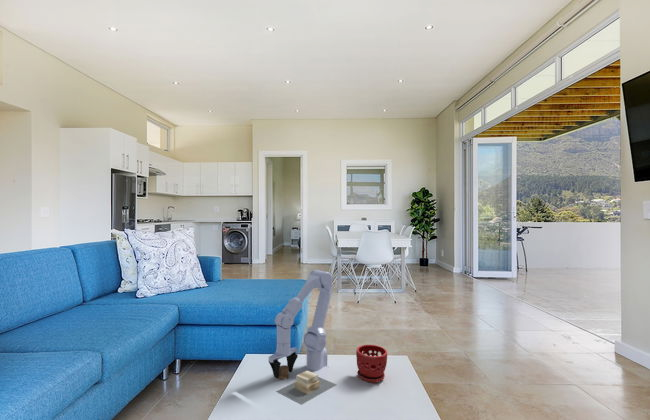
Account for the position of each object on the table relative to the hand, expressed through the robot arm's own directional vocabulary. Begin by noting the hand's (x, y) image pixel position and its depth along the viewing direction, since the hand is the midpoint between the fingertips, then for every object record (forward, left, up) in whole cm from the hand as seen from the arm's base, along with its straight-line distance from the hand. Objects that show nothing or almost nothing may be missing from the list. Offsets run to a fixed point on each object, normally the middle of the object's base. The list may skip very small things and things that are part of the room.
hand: (283, 374), depth 142 cm
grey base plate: (0, +14, -2) cm, 14 cm away
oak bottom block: (0, +14, -1) cm, 14 cm away
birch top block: (0, +14, +1) cm, 14 cm away
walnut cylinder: (0, 0, -2) cm, 2 cm away
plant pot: (-26, +27, -2) cm, 38 cm away
